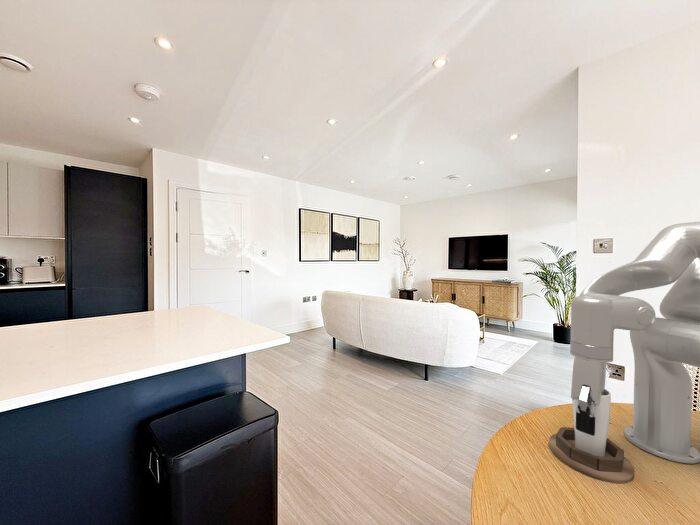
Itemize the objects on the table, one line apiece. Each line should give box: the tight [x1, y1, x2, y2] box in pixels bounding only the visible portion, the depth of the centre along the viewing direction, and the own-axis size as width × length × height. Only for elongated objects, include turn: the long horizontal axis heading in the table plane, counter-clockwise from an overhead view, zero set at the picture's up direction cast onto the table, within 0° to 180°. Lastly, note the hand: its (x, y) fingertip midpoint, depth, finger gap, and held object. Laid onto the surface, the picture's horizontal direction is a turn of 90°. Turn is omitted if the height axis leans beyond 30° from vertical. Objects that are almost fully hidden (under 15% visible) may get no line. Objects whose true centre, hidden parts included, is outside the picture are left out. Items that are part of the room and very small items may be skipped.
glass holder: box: [548, 426, 635, 484], centre depth 65 cm, size 15×15×4 cm
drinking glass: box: [571, 388, 612, 457], centre depth 65 cm, size 7×7×15 cm
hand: (589, 423), depth 65 cm, fingers open, 9 cm apart
